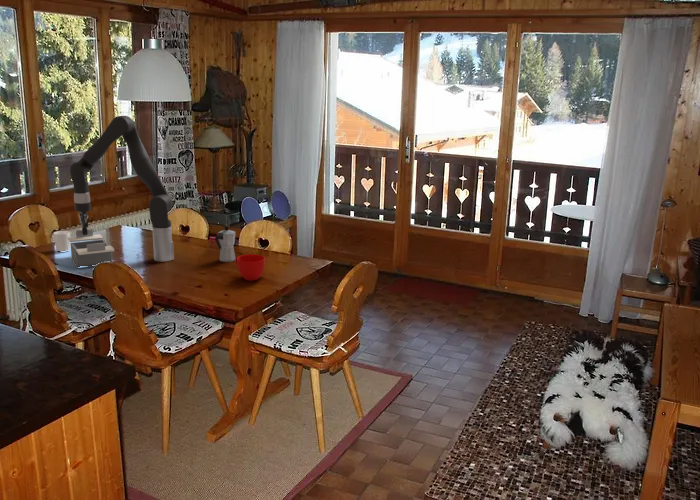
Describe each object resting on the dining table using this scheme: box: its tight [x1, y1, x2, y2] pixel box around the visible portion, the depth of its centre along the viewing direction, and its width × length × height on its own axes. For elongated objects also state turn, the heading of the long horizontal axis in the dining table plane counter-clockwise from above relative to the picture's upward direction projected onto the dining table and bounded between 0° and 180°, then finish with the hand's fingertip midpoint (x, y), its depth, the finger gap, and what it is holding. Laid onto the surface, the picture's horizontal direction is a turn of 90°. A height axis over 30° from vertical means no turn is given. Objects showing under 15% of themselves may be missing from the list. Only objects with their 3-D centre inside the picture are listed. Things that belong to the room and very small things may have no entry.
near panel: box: [76, 242, 115, 255], centre depth 317 cm, size 16×8×4 cm, turn 121°
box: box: [70, 239, 113, 268], centre depth 329 cm, size 16×16×9 cm
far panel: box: [67, 228, 104, 243], centre depth 338 cm, size 16×8×4 cm, turn 121°
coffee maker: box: [214, 224, 236, 263], centre depth 338 cm, size 15×9×18 cm, turn 149°
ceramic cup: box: [235, 253, 266, 281], centre depth 312 cm, size 13×17×10 cm
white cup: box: [53, 230, 71, 252], centre depth 347 cm, size 8×8×10 cm
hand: (85, 234), depth 337 cm, fingers closed
